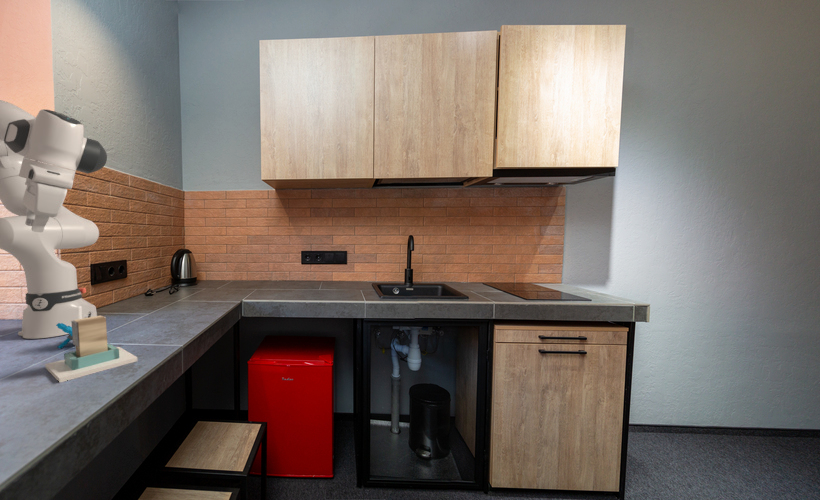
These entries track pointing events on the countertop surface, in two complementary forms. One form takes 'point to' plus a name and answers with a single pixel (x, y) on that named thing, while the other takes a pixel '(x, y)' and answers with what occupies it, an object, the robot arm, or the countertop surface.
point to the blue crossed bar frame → (67, 330)
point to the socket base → (89, 363)
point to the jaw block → (89, 335)
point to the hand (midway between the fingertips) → (33, 228)
